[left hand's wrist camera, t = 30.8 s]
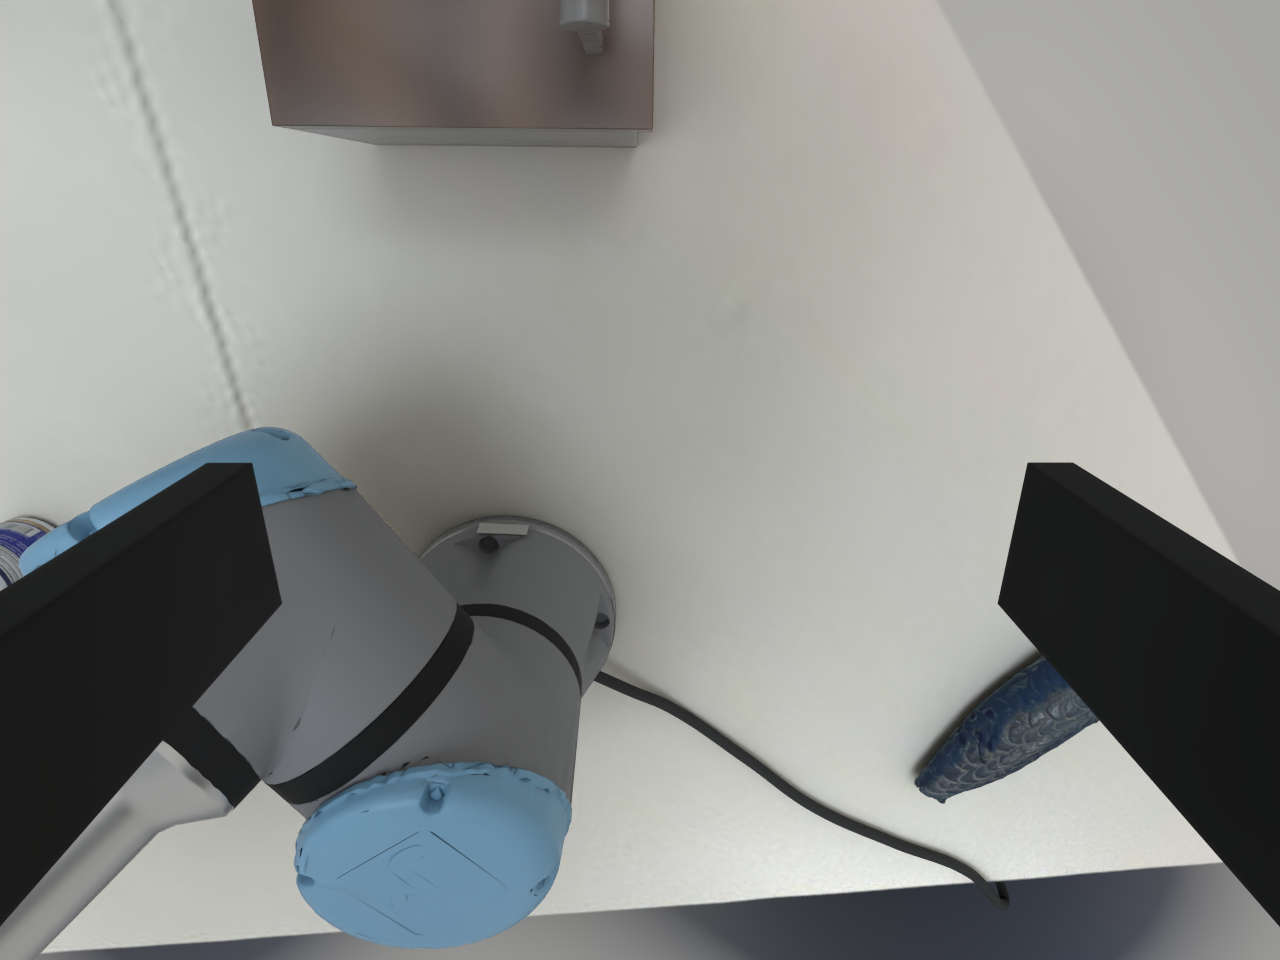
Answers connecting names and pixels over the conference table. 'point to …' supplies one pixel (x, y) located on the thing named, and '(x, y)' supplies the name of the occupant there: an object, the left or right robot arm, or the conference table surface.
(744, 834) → the conference table surface
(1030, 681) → the fish model
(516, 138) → the chest
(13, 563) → the pill bottle
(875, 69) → the conference table surface
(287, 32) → the lid
